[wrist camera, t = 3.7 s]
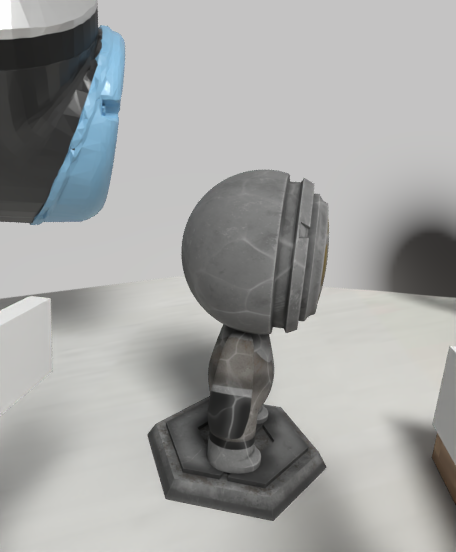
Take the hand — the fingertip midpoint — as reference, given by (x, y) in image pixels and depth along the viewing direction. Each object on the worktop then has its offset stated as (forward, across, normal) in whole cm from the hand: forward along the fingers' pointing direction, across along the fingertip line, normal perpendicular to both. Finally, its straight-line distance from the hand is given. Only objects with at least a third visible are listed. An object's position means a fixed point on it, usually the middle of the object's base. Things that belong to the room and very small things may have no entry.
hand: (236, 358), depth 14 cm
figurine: (+8, 0, -9) cm, 12 cm away
